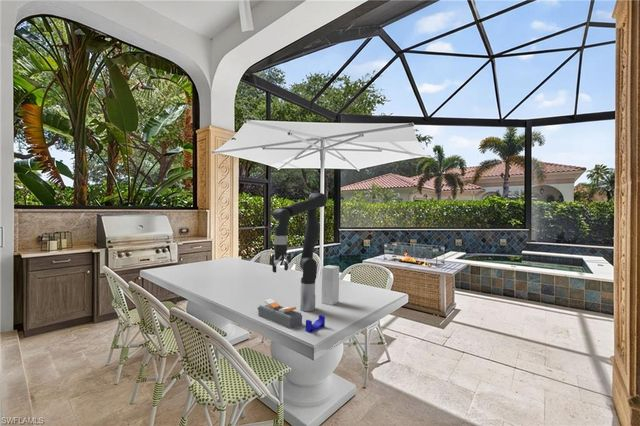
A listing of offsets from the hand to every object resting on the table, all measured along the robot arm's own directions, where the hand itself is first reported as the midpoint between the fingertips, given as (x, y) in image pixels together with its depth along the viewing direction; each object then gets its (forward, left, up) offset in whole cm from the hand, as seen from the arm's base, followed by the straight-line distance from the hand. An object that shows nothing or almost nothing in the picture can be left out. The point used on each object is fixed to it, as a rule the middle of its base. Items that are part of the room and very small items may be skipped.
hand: (280, 271), depth 175 cm
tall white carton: (-35, -30, -28) cm, 54 cm away
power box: (+2, -2, -28) cm, 28 cm away
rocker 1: (+5, -5, -21) cm, 22 cm away
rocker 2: (-4, +5, -21) cm, 22 cm away
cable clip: (-19, +15, -28) cm, 37 cm away
